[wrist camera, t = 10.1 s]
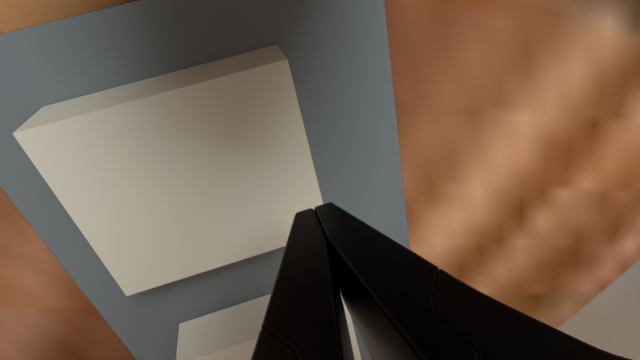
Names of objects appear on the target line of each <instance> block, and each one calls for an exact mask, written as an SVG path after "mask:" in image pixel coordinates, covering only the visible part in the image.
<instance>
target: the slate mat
mask: <svg viewBox="0 0 640 360" xmlns="http://www.w3.org/2000/svg"><path fill="white" fill-rule="evenodd" d="M276 44H277V45H278V46H279V48H280V49H281V50H282V52H283V53H284V55H285V56H286V58H287V59H288V63H289V67H290V71H291V75H292V79H293V83H294V87H295V91H296V96H297V100H298V104H299V108H300V112H301V116H302V120H303V124H304V128H305V132H306V136H307V140H308V144H309V148H310V152H311V157H312V161H313V165H314V169H315V173H316V177H317V181H318V185H319V189H320V193H321V197H322V201H323V204H325V203H328V202H332V203H334V204H335V205H337V206H339V207H340V208H342V209H344V210H345V211H347V212H349V213H350V214H352V215H353V216H355V217H357V218H358V219H360V220H362V221H363V222H365V223H367V224H368V225H370V226H371V227H373V228H375V229H376V230H378V231H380V232H381V233H383V234H385V235H386V236H388V237H389V238H391V239H393V240H394V241H396V242H398V243H399V244H401V245H403V246H404V247H406V248H408V249H409V250H410V246H409V236H408V226H407V216H406V207H405V197H404V187H403V177H402V168H401V158H400V148H399V138H398V129H397V119H396V109H395V100H394V90H393V80H392V70H391V61H390V51H389V41H388V31H387V22H386V12H385V2H384V0H137V1H133V2H129V3H125V4H121V5H116V6H112V7H108V8H104V9H100V10H96V11H92V12H88V13H84V14H80V15H76V16H72V17H68V18H64V19H60V20H56V21H52V22H48V23H44V24H40V25H36V26H32V27H28V28H24V29H20V30H15V31H11V32H7V33H3V34H0V187H1V188H2V189H3V191H4V192H5V193H6V195H7V196H8V197H9V198H10V200H11V201H12V202H13V203H14V205H15V206H16V207H17V209H18V210H19V211H20V212H21V214H22V215H23V216H24V217H25V219H26V220H27V221H28V223H29V224H30V225H31V226H32V228H33V229H34V230H35V231H36V233H37V234H38V235H39V237H40V238H41V239H42V240H43V242H44V243H45V244H46V245H47V247H48V248H49V249H50V251H51V252H52V253H53V254H54V256H55V257H56V258H57V259H58V261H59V262H60V263H61V265H62V266H63V267H64V268H65V270H66V271H67V272H68V273H69V275H70V276H71V277H72V279H73V280H74V281H75V282H76V284H77V285H78V286H79V287H80V289H81V290H82V291H83V293H84V294H85V295H86V296H87V298H88V299H89V300H90V301H91V303H92V304H93V305H94V307H95V308H96V309H97V310H98V312H99V313H100V314H101V315H102V317H103V318H104V319H105V321H106V322H107V323H108V324H109V326H110V327H111V328H112V329H113V331H114V332H115V333H116V335H117V336H118V337H119V338H120V340H121V341H122V342H123V343H124V345H125V346H126V347H127V348H128V350H129V351H130V352H131V354H132V355H133V356H134V357H135V359H136V360H176V353H177V343H178V333H179V324H180V323H183V322H186V321H189V320H192V319H195V318H198V317H201V316H204V315H207V314H210V313H213V312H217V311H220V310H223V309H226V308H229V307H232V306H235V305H238V304H241V303H244V302H247V301H250V300H253V299H256V298H259V297H262V296H266V295H269V294H271V292H272V289H273V286H274V282H275V279H276V276H277V272H278V269H279V266H280V263H281V259H282V256H283V253H284V249H285V246H284V247H281V248H278V249H275V250H271V251H268V252H265V253H262V254H259V255H256V256H252V257H249V258H246V259H243V260H240V261H237V262H233V263H230V264H227V265H224V266H221V267H218V268H214V269H211V270H208V271H205V272H202V273H199V274H196V275H192V276H189V277H186V278H183V279H180V280H177V281H173V282H170V283H167V284H164V285H161V286H158V287H154V288H151V289H148V290H145V291H142V292H139V293H135V294H132V295H129V296H126V295H125V293H124V292H123V291H122V289H121V288H120V286H119V285H118V283H117V282H116V281H115V279H114V278H113V276H112V275H111V273H110V272H109V271H108V269H107V268H106V266H105V265H104V263H103V262H102V261H101V259H100V258H99V256H98V255H97V253H96V252H95V251H94V249H93V248H92V246H91V245H90V244H89V242H88V241H87V239H86V238H85V236H84V235H83V234H82V232H81V231H80V229H79V228H78V226H77V225H76V224H75V222H74V221H73V219H72V218H71V216H70V215H69V214H68V212H67V211H66V209H65V208H64V207H63V205H62V204H61V202H60V201H59V199H58V198H57V197H56V195H55V194H54V192H53V191H52V189H51V188H50V187H49V185H48V184H47V182H46V181H45V179H44V178H43V177H42V175H41V174H40V172H39V171H38V170H37V168H36V167H35V165H34V164H33V162H32V161H31V160H30V158H29V157H28V155H27V154H26V152H25V151H24V150H23V148H22V147H21V145H20V144H19V142H18V141H17V140H16V138H15V137H14V135H13V134H12V133H14V132H15V131H16V130H17V129H18V128H19V127H20V126H22V125H23V124H24V123H25V122H26V121H27V120H28V119H30V118H31V117H32V116H33V115H34V114H35V113H36V112H38V111H39V110H40V109H41V108H42V107H44V106H47V105H51V104H55V103H59V102H62V101H66V100H70V99H74V98H77V97H81V96H85V95H89V94H92V93H96V92H100V91H104V90H107V89H111V88H115V87H119V86H122V85H126V84H130V83H134V82H137V81H141V80H145V79H149V78H152V77H156V76H160V75H164V74H167V73H171V72H175V71H179V70H182V69H186V68H190V67H194V66H197V65H201V64H205V63H209V62H212V61H216V60H220V59H224V58H227V57H231V56H235V55H239V54H242V53H246V52H250V51H254V50H257V49H261V48H265V47H269V46H272V45H276ZM351 319H352V317H351ZM352 323H353V327H354V331H355V335H356V339H357V344H358V348H359V352H360V356H361V360H366V359H369V358H371V356H370V354H369V352H368V350H367V348H366V346H365V344H364V342H363V340H362V338H361V336H360V334H359V332H358V330H357V328H356V325H355V323H354V321H353V319H352Z"/></svg>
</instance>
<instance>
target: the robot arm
mask: <svg viewBox="0 0 640 360" xmlns="http://www.w3.org/2000/svg"><path fill="white" fill-rule="evenodd" d="M341 296H342V297H341ZM342 298H343V301H344V303H345V305H346V307H347V309H348V311H349V313H350V315H351V317H352V319H353V321H354V323H355V325H356V328H357V330H358V332H359V334H360V336H361V338H362V340H363V342H364V344H365V346H366V348H367V350H368V352H369V354H370V356H371V358H372V360H632V359H628V358H624V357H621V356H618V355H614V354H612V353H609V352H606V351H603V350H601V349H598V348H596V347H594V346H592V345H589V344H587V343H585V342H583V341H581V340H578V339H576V338H574V337H572V336H570V335H568V334H566V333H563V332H562V331H560V330H557V329H555V328H553V327H551V326H549V325H547V324H545V323H543V322H541V321H539V320H537V319H534V318H532V317H530V316H528V315H526V314H524V313H522V312H520V311H518V310H516V309H513V308H511V307H509V306H507V305H505V304H503V303H501V302H499V301H497V300H495V299H493V298H492V297H490V296H488V295H486V294H484V293H482V292H480V291H478V290H476V289H474V288H473V287H471V286H469V285H467V284H466V283H464V282H462V281H460V280H459V279H457V278H455V277H454V276H452V275H450V274H449V273H447V272H445V271H444V270H442V269H439V268H438V267H437V266H435V265H434V264H432V263H430V262H429V261H427V260H426V259H424V258H422V257H421V256H419V255H417V254H416V253H414V252H412V251H411V250H409V249H408V248H406V247H404V246H403V245H401V244H399V243H398V242H396V241H394V240H393V239H391V238H389V237H388V236H386V235H385V234H383V233H381V232H380V231H378V230H376V229H375V228H373V227H371V226H370V225H368V224H367V223H365V222H363V221H362V220H360V219H358V218H357V217H355V216H353V215H352V214H350V213H349V212H347V211H345V210H344V209H342V208H340V207H339V206H337V205H335V204H334V203H332V202H328V203H325V204H322V205H319V206H316V207H315V208H314V209H312V208H309V209H306V210H303V211H299V212H297V213H296V214H295V216H294V219H293V223H292V226H291V229H290V233H289V236H288V239H287V243H286V246H285V249H284V253H283V256H282V259H281V263H280V266H279V269H278V272H277V276H276V279H275V282H274V286H273V289H272V292H271V296H270V299H269V302H268V306H267V309H266V312H265V316H264V319H263V322H262V325H261V329H262V330H260V331H259V335H258V338H257V341H256V345H255V348H254V351H253V354H252V357H251V360H355V358H354V353H353V349H352V344H351V339H350V334H349V329H348V324H347V319H346V314H345V309H344V305H343V301H342Z"/></svg>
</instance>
